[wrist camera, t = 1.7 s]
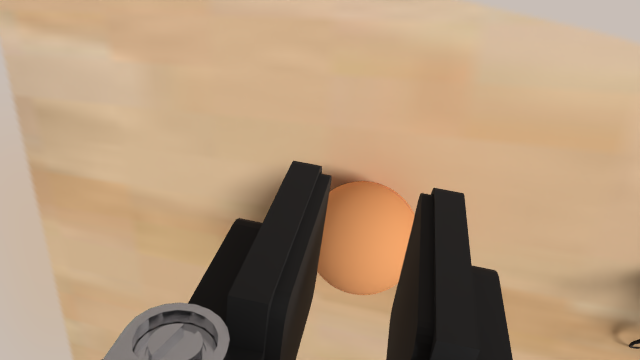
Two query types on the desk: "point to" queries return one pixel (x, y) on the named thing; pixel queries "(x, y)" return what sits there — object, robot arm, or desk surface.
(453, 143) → the desk surface
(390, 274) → the ball
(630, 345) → the creature
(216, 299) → the robot arm
